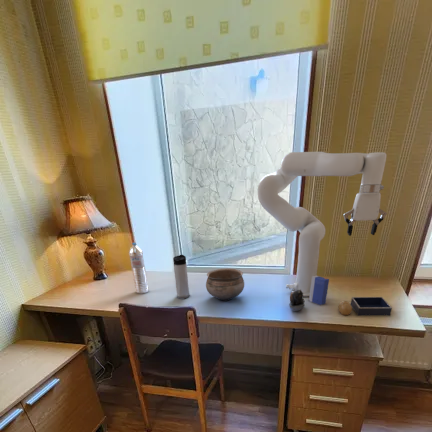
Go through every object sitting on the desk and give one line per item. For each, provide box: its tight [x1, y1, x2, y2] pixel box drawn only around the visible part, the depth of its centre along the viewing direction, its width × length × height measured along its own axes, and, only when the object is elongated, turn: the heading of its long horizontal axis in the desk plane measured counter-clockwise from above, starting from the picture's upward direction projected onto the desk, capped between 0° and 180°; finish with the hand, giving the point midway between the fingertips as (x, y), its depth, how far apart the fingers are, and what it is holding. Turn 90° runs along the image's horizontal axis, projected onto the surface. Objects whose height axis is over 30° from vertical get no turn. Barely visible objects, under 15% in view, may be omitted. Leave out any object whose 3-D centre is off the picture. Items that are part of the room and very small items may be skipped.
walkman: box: [308, 275, 330, 306], centre depth 153 cm, size 8×3×12 cm, turn 32°
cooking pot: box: [205, 268, 245, 301], centre depth 163 cm, size 25×19×12 cm
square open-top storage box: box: [350, 296, 393, 317], centre depth 145 cm, size 13×13×4 cm
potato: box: [337, 300, 353, 316], centre depth 143 cm, size 5×8×5 cm
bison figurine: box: [289, 289, 306, 312], centre depth 148 cm, size 12×7×10 cm, turn 170°
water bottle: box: [128, 242, 149, 295], centre depth 172 cm, size 7×7×25 cm
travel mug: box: [172, 254, 190, 300], centre depth 165 cm, size 6×7×20 cm
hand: (360, 234), depth 144 cm, fingers open, 9 cm apart
